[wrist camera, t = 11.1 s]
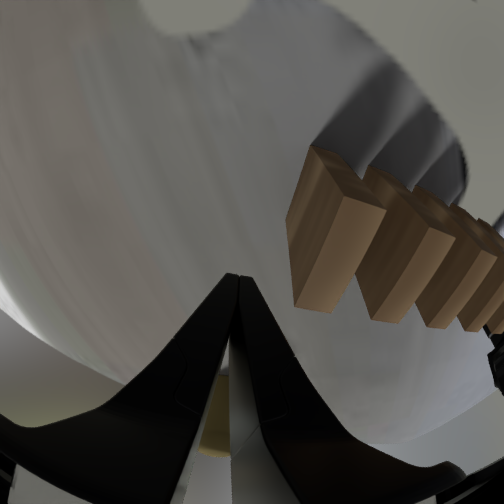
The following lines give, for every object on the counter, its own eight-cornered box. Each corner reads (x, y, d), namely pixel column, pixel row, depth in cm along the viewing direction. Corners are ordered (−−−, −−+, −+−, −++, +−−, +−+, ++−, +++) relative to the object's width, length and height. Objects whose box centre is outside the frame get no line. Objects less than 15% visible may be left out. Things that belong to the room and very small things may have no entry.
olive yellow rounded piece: (199, 372, 34) (186, 446, 25) (244, 377, 34) (238, 453, 25) (203, 391, 37) (193, 456, 28) (243, 395, 37) (238, 461, 28)
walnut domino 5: (488, 223, 19) (540, 280, 12) (461, 271, 22) (501, 334, 15) (478, 217, 19) (533, 277, 11) (450, 267, 22) (491, 333, 15)
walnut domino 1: (337, 153, 17) (386, 210, 10) (310, 226, 21) (331, 313, 13) (310, 144, 17) (344, 195, 10) (285, 219, 21) (294, 306, 13)
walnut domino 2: (390, 173, 18) (456, 238, 10) (360, 239, 21) (398, 323, 14) (368, 164, 18) (429, 226, 10) (339, 233, 21) (370, 319, 14)
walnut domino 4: (464, 209, 19) (523, 271, 11) (435, 262, 22) (477, 332, 15) (451, 202, 18) (513, 265, 11) (421, 258, 22) (464, 331, 14)
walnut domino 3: (432, 193, 18) (497, 257, 11) (402, 252, 22) (445, 329, 14) (415, 184, 18) (481, 249, 11) (384, 247, 21) (426, 327, 14)
